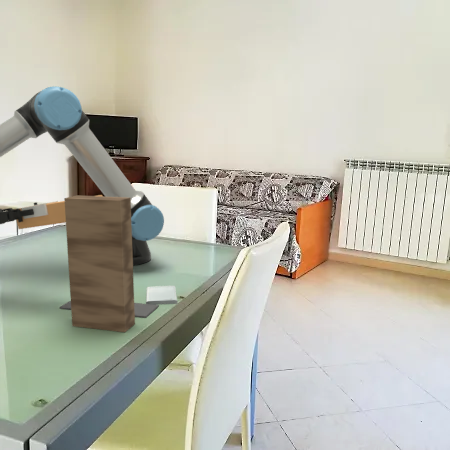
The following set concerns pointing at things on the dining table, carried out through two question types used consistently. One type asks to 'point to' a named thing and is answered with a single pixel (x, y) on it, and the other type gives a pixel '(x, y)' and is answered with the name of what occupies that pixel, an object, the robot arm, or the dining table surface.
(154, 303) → the hard drive
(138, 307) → the charcoal mat
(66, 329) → the dining table surface
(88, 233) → the walnut pedestal
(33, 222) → the orange rod
